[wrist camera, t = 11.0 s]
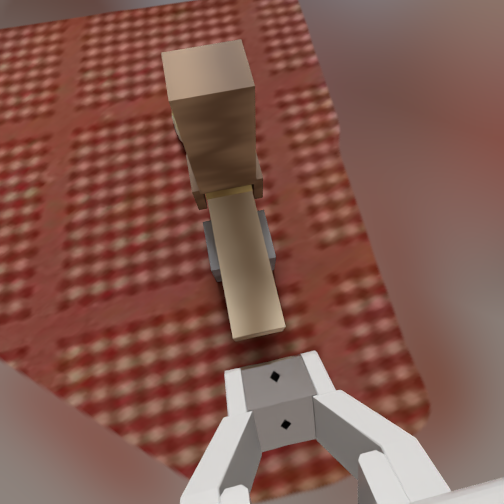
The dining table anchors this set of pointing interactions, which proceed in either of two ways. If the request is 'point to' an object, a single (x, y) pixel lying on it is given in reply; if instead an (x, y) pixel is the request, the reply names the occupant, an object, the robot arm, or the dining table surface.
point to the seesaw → (243, 262)
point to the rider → (215, 116)
